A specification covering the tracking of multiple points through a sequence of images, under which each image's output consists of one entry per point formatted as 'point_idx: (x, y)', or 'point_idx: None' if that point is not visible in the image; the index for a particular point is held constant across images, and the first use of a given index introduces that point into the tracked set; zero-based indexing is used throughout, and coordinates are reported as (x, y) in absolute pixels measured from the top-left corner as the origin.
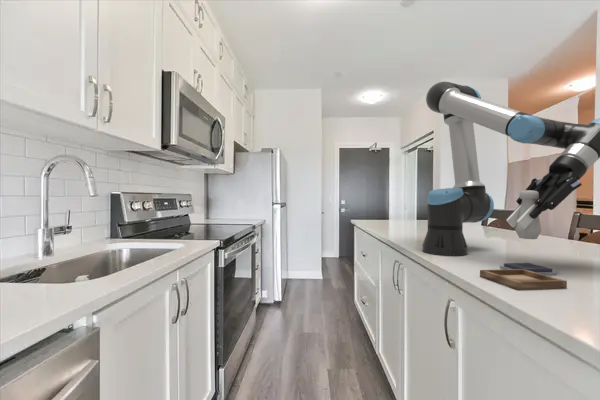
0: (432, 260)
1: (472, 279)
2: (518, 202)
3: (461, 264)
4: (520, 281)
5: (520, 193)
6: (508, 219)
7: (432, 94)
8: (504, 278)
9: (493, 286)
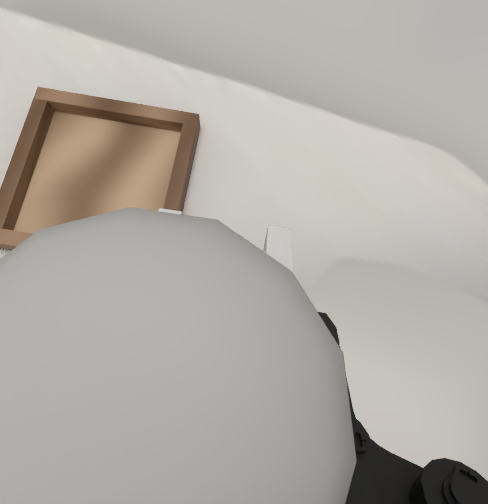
0: (463, 166)
1: (181, 85)
2: (422, 468)
3: (378, 215)
4: (41, 102)
5: (241, 239)
6: (270, 229)
7: None
8: (90, 96)
9: (103, 78)
